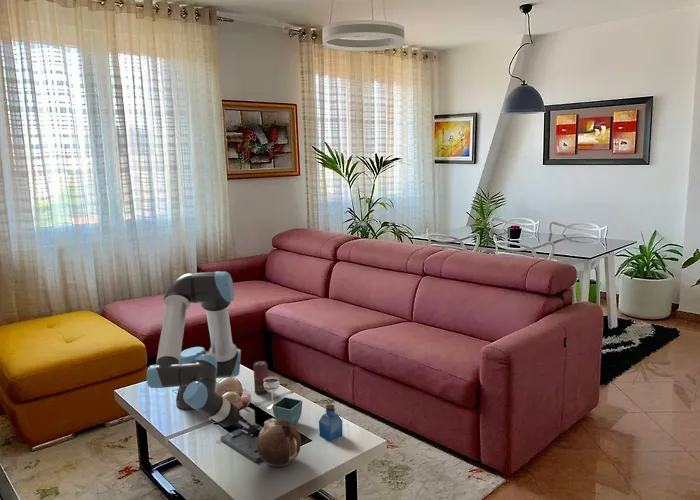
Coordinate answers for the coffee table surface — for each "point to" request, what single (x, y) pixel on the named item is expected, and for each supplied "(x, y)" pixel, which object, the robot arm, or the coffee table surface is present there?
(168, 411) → the coffee table surface
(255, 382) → the can
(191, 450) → the coffee table surface
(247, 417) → the block
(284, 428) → the wooden sphere
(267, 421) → the front fader
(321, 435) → the perfume bottle
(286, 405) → the flower pot
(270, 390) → the wineglass
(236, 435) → the plate
